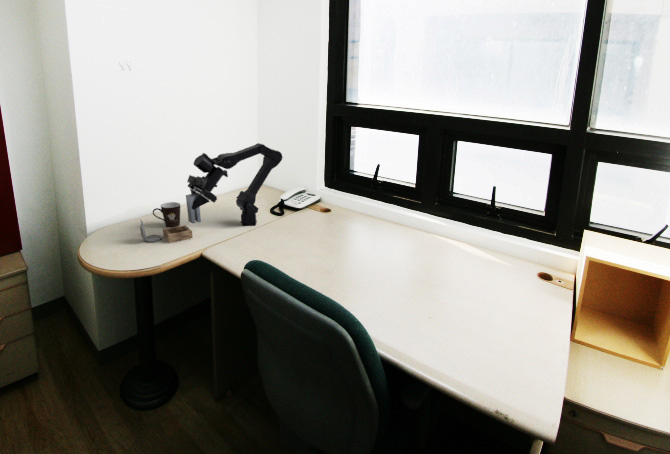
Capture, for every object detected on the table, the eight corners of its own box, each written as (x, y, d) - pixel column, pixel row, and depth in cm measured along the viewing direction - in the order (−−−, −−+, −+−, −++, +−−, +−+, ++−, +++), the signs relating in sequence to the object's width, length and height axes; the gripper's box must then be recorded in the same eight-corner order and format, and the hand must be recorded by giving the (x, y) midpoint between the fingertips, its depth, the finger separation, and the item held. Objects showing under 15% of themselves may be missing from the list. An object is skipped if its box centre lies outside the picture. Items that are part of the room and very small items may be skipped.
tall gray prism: (197, 219, 199) (194, 193, 195) (201, 221, 196) (198, 195, 192) (188, 221, 197) (185, 195, 192) (192, 223, 194) (189, 197, 190)
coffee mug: (185, 222, 214) (183, 202, 210) (177, 228, 206) (175, 208, 202) (162, 221, 215) (159, 201, 211) (153, 227, 207) (150, 206, 203)
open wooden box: (185, 232, 202) (185, 224, 201) (192, 238, 195) (191, 231, 194) (163, 236, 197) (162, 229, 195) (169, 243, 190) (168, 235, 189)
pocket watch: (164, 238, 194) (161, 216, 191) (149, 245, 187) (146, 222, 184) (150, 235, 198) (147, 213, 194) (135, 241, 190) (132, 219, 187)
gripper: (189, 164, 197) (167, 192, 195) (207, 172, 184) (184, 203, 181) (208, 178, 205) (187, 206, 202) (226, 187, 191) (204, 217, 189)
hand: (190, 207), depth 193 cm, fingers closed on tall gray prism, 4 cm apart
